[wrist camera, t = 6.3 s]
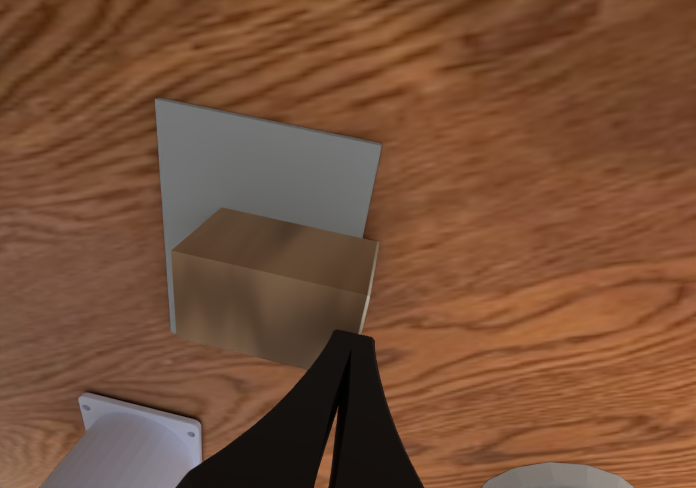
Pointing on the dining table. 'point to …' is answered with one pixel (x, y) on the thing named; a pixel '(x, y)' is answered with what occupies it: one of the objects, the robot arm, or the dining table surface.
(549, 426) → the dining table surface
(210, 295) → the walnut block
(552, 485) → the french press
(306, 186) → the felt mat
